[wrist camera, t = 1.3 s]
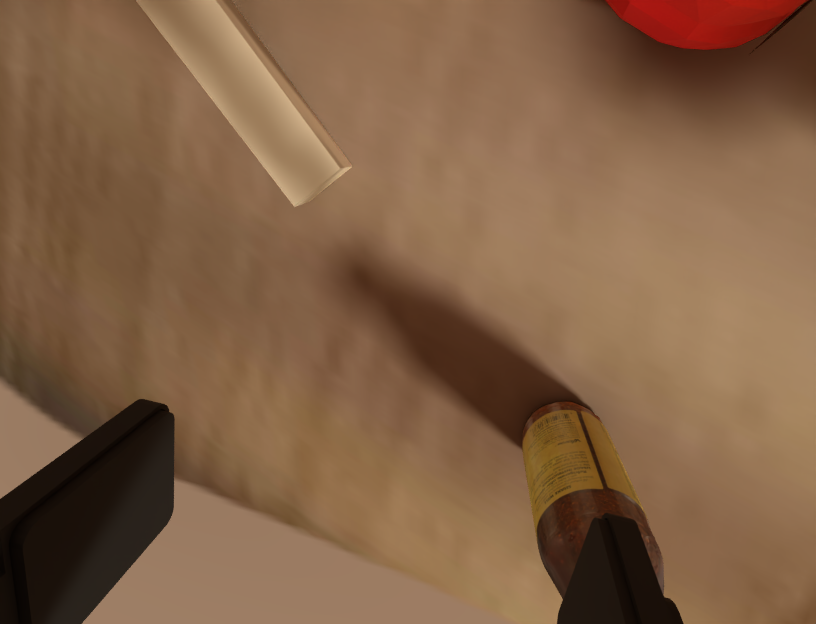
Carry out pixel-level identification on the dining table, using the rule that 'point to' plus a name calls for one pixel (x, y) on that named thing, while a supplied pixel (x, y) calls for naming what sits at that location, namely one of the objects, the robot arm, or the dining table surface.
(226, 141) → the dining table surface
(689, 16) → the tomato
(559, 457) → the sauce bottle
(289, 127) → the pale grey bar
